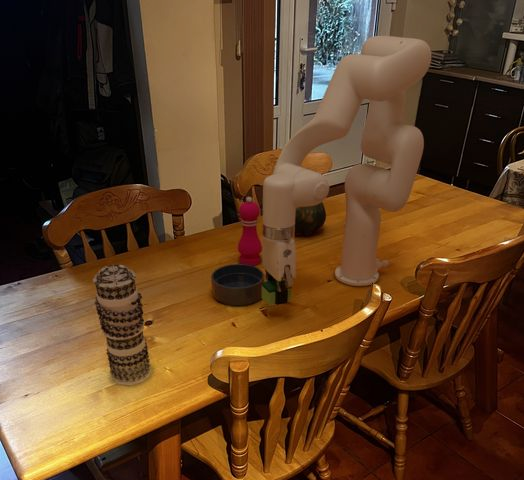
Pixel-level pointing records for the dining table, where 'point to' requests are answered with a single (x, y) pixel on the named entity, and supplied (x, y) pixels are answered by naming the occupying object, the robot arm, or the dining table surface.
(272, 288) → the sponge
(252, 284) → the bowl
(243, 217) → the pepper mill
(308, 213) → the squash
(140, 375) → the decorative candle
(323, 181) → the robot arm
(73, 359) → the dining table surface
